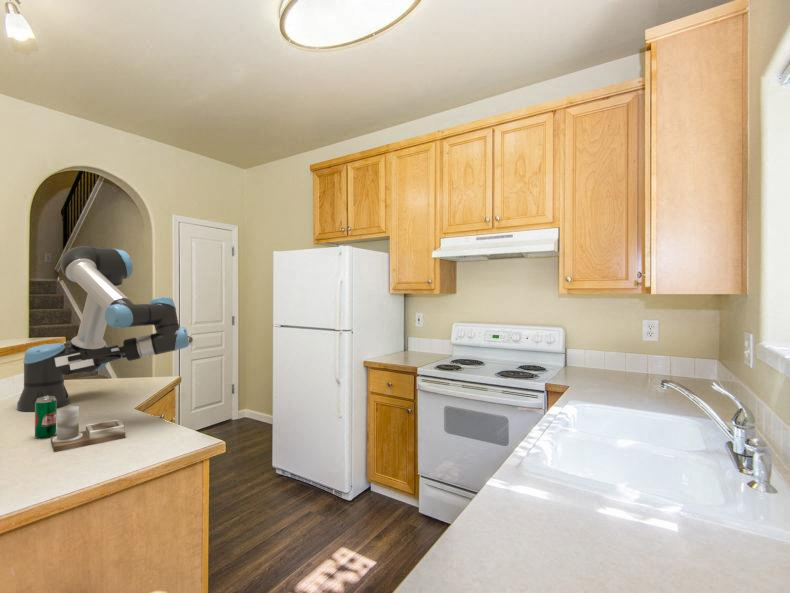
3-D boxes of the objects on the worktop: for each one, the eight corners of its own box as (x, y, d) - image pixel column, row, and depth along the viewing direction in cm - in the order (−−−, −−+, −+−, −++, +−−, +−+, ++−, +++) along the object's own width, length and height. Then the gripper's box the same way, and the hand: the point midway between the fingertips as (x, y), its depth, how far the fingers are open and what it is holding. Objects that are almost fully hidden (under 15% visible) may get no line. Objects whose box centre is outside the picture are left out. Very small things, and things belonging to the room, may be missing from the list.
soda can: (43, 439, 122) (44, 400, 122) (30, 438, 123) (30, 399, 123) (60, 434, 127) (61, 396, 127) (47, 432, 128) (48, 394, 128)
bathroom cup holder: (118, 429, 132) (119, 397, 132) (125, 437, 125) (126, 404, 125) (50, 441, 120) (51, 406, 120) (53, 452, 113) (54, 414, 113)
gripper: (134, 354, 128) (51, 373, 119) (146, 361, 150) (77, 378, 141) (129, 331, 129) (46, 348, 120) (142, 342, 151) (73, 357, 142)
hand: (63, 364), depth 130 cm, fingers open, 13 cm apart
